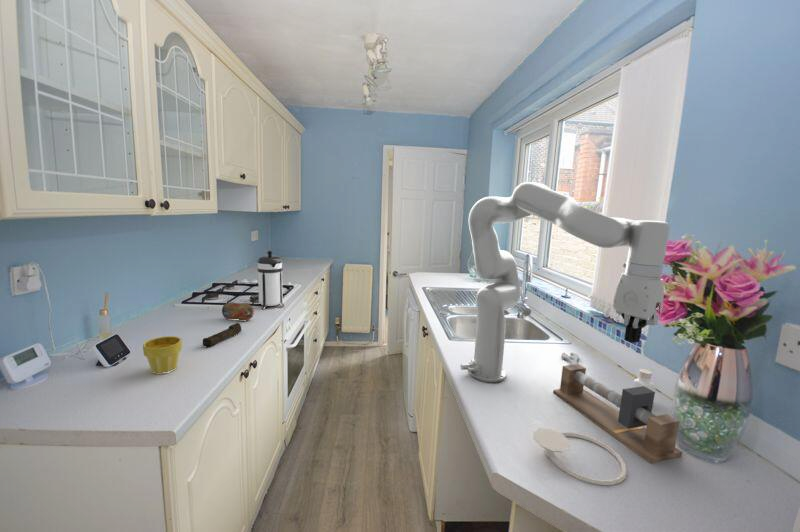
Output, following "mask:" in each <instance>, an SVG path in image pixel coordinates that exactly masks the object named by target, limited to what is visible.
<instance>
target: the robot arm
mask: <svg viewBox="0 0 800 532" xmlns="http://www.w3.org/2000/svg"><path fill="white" fill-rule="evenodd" d="M530 216H534V217H537V218H540V219H542V220H544V221H547V222H548V223H551V224H553V225H555V226H556V227H558V228H559V229H561V230H563V231H564V232H565V233H566V232H567V234H570V235H571V236H574V237H576V238H578V239H580V240H581V241H582V240H583V241H584V242H587V243H589V244H591V245H593V246H596V247H599V248H602V249H603V248H604V249H611V248H618V247H619V248H620V247H628V254H627V257H626V262H624V263H623V268H625V271H624V272H621V275H620V277H619V279H618V282H617V285H616V288H615V293H614V298H613V303H612V307H613V309H614V310H615V312H616V313H615V314H617V315H619V316H621V317H622V319H623V323H624V325H625V333H624V339H623V340H624V341H625V342H627V343H630V344H633V343H640V340H641V336H642V330H643V328H646V326H658V325H659V318H658V316H657V311H658V310H656V308H657V307H658V306H659V303H660V306H659V314H661V315H662V313H663V306H664V294H665V292H664V291H665V288H664V287H665V284H664V279H663V278H662V276H663V270H664V266H665V265H664V264H665V263H664V264H663V261H664V262H665V259H664V258H666V253H665V252H667V247H668V241H669V238H670V237H669V236H670V230H671V229H670V228H671V227H670V224H669V223H668V222H666V221H663V220H662V221H661V220H646V219H645V220H644V219H640V220H636V219H635V220H634V219H629V218H623V217H610V216H607V215H604V214H602V213H599V212H597V211H594V210H592V209H589V208H588V207H586V206H585V207H584V206H583V205H581V204H579V203H578V202H577V201H576V200H575V198H573V197H572V196H570V195H567V194H564V193H562V192H558V191H555V190H553V189H551V188H550V187H549V186H547V185H546V184H544V183H540V182H539V183H538V182H535V181H534V182H533V181H525V182H522V183H520V184H518V185H517V186H516V187H515V188H514V190H513V192H512V195H510V196H508V197H505V196H504V197H503V196H485V197H483V198H481V199H478V201H476V202H475V203H474V205H473V206H472V207H471V209H470V211H469V214H468V221H467V222H468V229H469V232H470V236H471V242H472V243H471V244H472V251H473V258H474V259H473V260H474V267H475V271H476V274H477V276H478V277H479V278H480V279H482V280H483V281H484V280H485V281H491V280H492V281H493V283H489V284H486V285H484V286H482V287H481V288H479V290H478V292H477V293H476V296H475V307H476V328H475V329H476V330H475V343H474V344H475V345H474V354H473V355H474V356H473V359H470V362H468V363H461V364H460V366H459V367H460V370H461V371H465V370H467V373H468V374H469V375H470V376H471V377H472V378H474V379H476V380H478V381H482V382H486V383H500V382H503V381H504V380H505V379H507V372H506V370H504V369H503V365H504V364H503V361H504V351H505V350H504V349H505V340H506V330H507V322H506V316H505V310H508V309H511V308H513V307H515V306H516V305H518V304H519V301H520V299H521V286H520V279H519V272H518V268H517V267H518V266H517V261H516V259H515V258H514V256H513V255H512V253H510V252H508V251H507V250H504V249H503V250H502V249H501V247H500V244H499V243H500V241H499V237H498V234H497V231H496V229H495V227H494V224H509V223H513V222H517V221H519V220H522V219H524V218H527V217H530ZM661 312H662V313H661Z"/></svg>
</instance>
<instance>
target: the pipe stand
mask: <svg viewBox="0 0 800 532" xmlns="http://www.w3.org/2000/svg"><path fill="white" fill-rule="evenodd" d="M586 370H587V368H586V367H584V366H582V365H581V364H580V363H578V364H575V365H571V364H567V365H562V370H561V378H560V386H559V388H556V389H553V392H552V393H553V394H554V395H555V396H557V397H558V398H560V399H561V400H562V401H564V402H565V403H566V404H568V405H569V406H570V407H572V408H573V409H575V410H576V411H577V412H579V413H580V414H582V415H583V416H585V417H586V418H587V419H589V421H592V422H593V423H594V424H595V425H597V426H598V427H600V428H601V429H602V430H604V431H605V432H606V433H608V434H609V435H610V436H612V437H613V438H615V439H616V440H618V441H619V442H620V443H621V444H623V445H625V446H626V447H627V448H628V449H630V450H631V451H633V452H634V453H635V454H637V455H638V456H640V457H641V458H642V459H643V460H645V461H646V462H648V463H649V464H652V463H656V462H661V461H665V460H669V459H674V458H677V457H678V458H679V457H681V456H682V455H683V451H681V450H680V449H679V448H677V447H676V443H677V439H678V433H679V428H680V427H679V426H680V420H679V419H678V418H675V417H673V415H672V416H671V415H670V414H667V413H666V414H665V413H664V414H659V415H656V414H654V413H653V412H652V413H650V412H649V411H647V410H645V409H644V408H642V407H637V408H636V412H635V418H637V419H639V420H640V421H642V422H643V423H645V424H647V425H646V427H645V426H641V427H635V428H630V429H628V428H626V427H625V426H623V425H622V424H620V423H619V422H618V418H619V411H620V410H617V409H616V408H614V407H612V406H611V405H609V404H608V403H606V402H605V401H603V400H601V399H600V398H598V397H597V396H595V395H594V394H592V393H591V392H589V391H588V390H586V389H584V387H586V388H587V389H589V390H591V391H592V392H593V393H596V394H597V395H598V396H600V397H602V398H604V399H605V400H607V402H609V403H612V404H613V405H615V406H616V407H618V408H619V409H620V405H621V398H622V394H620V393H618V392H616V391H615V390H612V389H611V388H610V387H608V386H606V385H605V384H602V383H601V382H599V381H597V380H596V379H594V378H593V377H591V376H589V375H587V374H586Z"/></svg>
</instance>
